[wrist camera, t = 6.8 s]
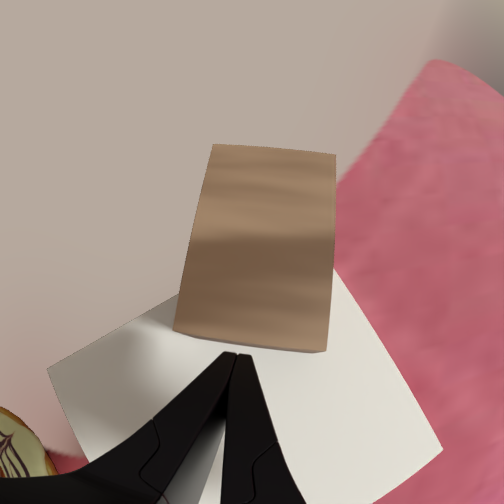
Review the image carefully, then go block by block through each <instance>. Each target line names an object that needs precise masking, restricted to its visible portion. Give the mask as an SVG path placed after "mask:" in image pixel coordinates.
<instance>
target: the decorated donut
mask: <svg viewBox="0 0 504 504" xmlns="http://www.w3.org/2000/svg"><path fill="white" fill-rule="evenodd" d="M48 475H58V472H57V471H56V469H55V466H54V464H53V462H52V461H51V460H50V458H49V457H48V455H47V453H46V452H45V450H44V448H43V445H42V444H41V442H40V440H39V438H38V437H37V436H36V435H35V433H34V432H33V431H32V430H31V429H30V428H28V426H27V425H26V424H25V423H24V422H23V421H22V420H21V419H20V418H19V417H17V416H16V415H14V414H13V413H12V412H10V411H9V410H7V409H5V408H3V407H0V477H9V478H11V477H35V476H48Z"/></svg>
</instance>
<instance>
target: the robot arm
mask: <svg viewBox="0 0 504 504" xmlns="http://www.w3.org/2000/svg"><path fill="white" fill-rule="evenodd" d="M152 419H153V420H152ZM152 419H150V420H149V421H148V422H147V423H146V424H144V425H143V426H142V427H141V428H140V429H139V430H137V431H136V432H135V433H134V434H132V435H131V436H130V437H128V438H127V439H126V440H124V441H123V442H121V443H120V444H118V445H117V446H116V447H114V448H112V449H111V450H109V451H108V452H106V453H105V454H103V455H101V456H100V457H98V458H97V459H95V460H93V461H92V462H90V463H89V464H87V465H85V466H84V467H82V468H80V469H78V470H75V471H72V472H69V473H65V474H59V475H48V476H35V477H11V478H9V477H0V504H198V503H199V501H200V498H201V495H202V493H203V490H204V487H205V484H206V482H207V479H208V476H209V473H210V471H211V468H212V465H213V462H214V459H215V456H216V454H217V451H218V448H219V445H220V442H221V439H222V437H223V434H224V431H225V438H224V452H223V466H222V481H221V496H220V504H307V503H306V501H305V499H304V498H303V496H302V494H301V492H300V490H299V488H298V487H297V485H296V483H295V481H294V479H293V477H292V475H291V472H290V470H289V468H288V466H287V463H286V461H285V458H284V455H283V453H282V450H281V446H280V443H279V442H278V438H277V435H276V432H275V428H274V425H273V422H272V419H271V416H270V413H269V410H268V406H267V403H266V400H265V397H264V394H263V390H262V387H261V384H260V381H259V377H258V374H257V371H256V368H255V364H254V361H253V358H252V356H251V355H250V354H242V353H239V354H238V355H237V353H235V352H228V351H224V352H222V353H221V354H220V355H219V356H218V357H217V358H216V359H215V360H214V361H213V362H212V363H211V364H210V365H209V366H208V367H207V368H205V369H204V370H203V371H202V372H201V373H200V374H199V375H198V376H197V377H196V378H195V379H194V380H193V381H192V382H191V383H190V384H189V385H187V386H186V387H185V388H184V389H183V390H182V391H181V392H180V393H179V394H178V395H177V396H176V397H174V398H173V399H172V400H171V401H170V402H169V403H168V404H167V405H166V406H165V407H164V408H162V409H161V410H160V411H159V412H158V413H157V414H156V415H155V416H154V417H153V418H152Z"/></svg>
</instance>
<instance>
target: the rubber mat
mask: <svg viewBox="0 0 504 504" xmlns="http://www.w3.org/2000/svg"><path fill="white" fill-rule="evenodd" d="M178 296H179V294H177V295H175V296H174V297H172V298H170V299H169V300H167V301H165V302H163V303H161V304H160V305H158V306H156V307H155V308H153V309H151V310H149V311H147V312H146V313H144V314H142V315H140V316H139V317H137V318H135V319H133V320H131V321H130V322H128V323H126V324H124V325H123V326H121V327H119V328H118V329H116V330H114V331H112V332H111V333H109V334H107V335H105V336H103V337H102V338H100V339H98V340H96V341H95V342H93V343H91V344H90V345H88V346H86V347H84V348H83V349H81V350H79V351H77V352H76V353H74V354H72V355H70V356H68V357H67V358H65V359H63V360H61V361H60V362H58V363H56V364H54V365H53V366H51V367H49V368H47V371H48V374H49V376H50V379H51V382H52V384H53V387H54V389H55V392H56V394H57V396H58V399H59V401H60V404H61V406H62V409H63V411H64V413H65V415H66V417H67V420H68V422H69V424H70V426H71V428H72V430H73V432H74V434H75V436H76V438H77V440H78V442H79V444H80V446H81V448H82V450H83V451H84V453H85V455H86V457H87V459H88V461H89V462H92V461H93V460H95V459H97V458H98V457H100V456H101V455H103V454H105V453H106V452H108V451H109V450H111V449H112V448H114V447H116V446H117V445H118V444H120V443H121V442H123V441H124V440H126V439H127V438H128V437H130V436H131V435H132V434H134V433H135V432H136V431H137V430H139V429H140V428H141V427H142V426H143V425H144V424H146V423H147V422H148V421H149V420H150V419H152V418H153V417H154V416H155V415H156V414H157V413H158V412H159V411H160V410H161V409H162V408H164V407H165V406H166V405H167V404H168V403H169V402H170V401H171V400H172V399H173V398H174V397H176V396H177V395H178V394H179V393H180V392H181V391H182V390H183V389H184V388H185V387H186V386H187V385H189V384H190V383H191V382H192V381H193V380H194V379H195V378H196V377H197V376H198V375H199V374H200V373H201V372H202V371H203V370H204V369H205V368H207V367H208V366H209V365H210V364H211V363H212V362H213V361H214V360H215V359H216V358H217V357H218V356H219V355H220V354H221V353H222V352H224V351H228V352H235V353H237V355H238V354H239V353H242V354H250V355H251V356H252V358H253V361H254V364H255V368H256V371H257V374H258V377H259V381H260V384H261V387H262V390H263V394H264V397H265V400H266V403H267V406H268V410H269V413H270V416H271V419H272V422H273V425H274V428H275V432H276V435H277V438H278V442H279V443H280V446H281V450H282V453H283V455H284V458H285V461H286V463H287V466H288V468H289V470H290V472H291V475H292V477H293V479H294V481H295V483H296V485H297V487H298V488H299V490H300V492H301V494H302V496H303V498H304V499H305V501H306V503H307V504H372V503H373V502H375V501H376V500H378V499H379V498H381V497H382V496H384V495H385V494H387V493H388V492H390V491H391V490H393V489H394V488H396V487H397V486H398V485H400V484H401V483H402V482H404V481H405V480H407V479H408V478H409V477H411V476H412V475H413V474H414V473H416V472H417V471H418V470H420V469H421V468H422V467H423V466H425V465H426V464H427V463H428V462H429V461H431V460H432V459H433V458H434V457H435V456H437V455H438V454H439V453H440V452H441V451H442V450H443V448H442V446H441V445H440V443H439V441H438V439H437V437H436V435H435V433H434V431H433V430H432V428H431V426H430V424H429V422H428V420H427V419H426V417H425V415H424V413H423V412H422V410H421V408H420V406H419V404H418V403H417V401H416V399H415V397H414V396H413V394H412V392H411V390H410V389H409V387H408V385H407V384H406V382H405V380H404V379H403V377H402V375H401V373H400V372H399V370H398V368H397V367H396V365H395V363H394V362H393V360H392V358H391V357H390V355H389V354H388V352H387V350H386V349H385V347H384V345H383V344H382V342H381V341H380V339H379V337H378V336H377V334H376V333H375V331H374V329H373V328H372V326H371V325H370V323H369V322H368V320H367V318H366V317H365V315H364V314H363V312H362V311H361V309H360V308H359V306H358V304H357V303H356V301H355V300H354V298H353V297H352V295H351V294H350V292H349V291H348V289H347V288H346V286H345V285H344V283H343V282H342V280H341V279H340V277H339V276H338V274H337V273H336V271H335V270H334V268H333V282H332V296H331V309H330V320H329V331H328V341H327V350H326V351H325V352H319V353H313V354H311V353H300V352H290V351H281V350H272V349H264V348H256V347H248V346H241V345H234V344H227V343H220V342H214V341H208V340H202V339H196V338H193V337H190V336H187V335H183V334H181V333H178V332H175V331H172V329H173V324H174V318H175V312H176V307H177V301H178ZM152 420H153V419H152ZM224 438H225V431H224V434H223V437H222V439H221V442H220V445H219V448H218V451H217V454H216V456H215V459H214V462H213V465H212V468H211V471H210V473H209V476H208V479H207V482H206V484H205V487H204V490H203V493H202V495H201V498H200V501H199V503H198V504H220V496H221V481H222V466H223V452H224Z"/></svg>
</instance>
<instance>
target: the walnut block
mask: <svg viewBox="0 0 504 504" xmlns="http://www.w3.org/2000/svg"><path fill="white" fill-rule="evenodd" d="M335 216H336V155H334V154H327V153H319V152H311V151H302V150H292V149H281V148H270V147H258V146H244V145H225V144H213V147H212V151H211V155H210V158H209V162H208V166H207V170H206V174H205V178H204V182H203V186H202V190H201V194H200V198H199V202H198V207H197V211H196V215H195V219H194V224H193V228H192V233H191V238H190V242H189V247H188V251H187V256H186V261H185V266H184V271H183V276H182V281H181V286H180V291H179V296H178V301H177V307H176V312H175V318H174V324H173V329H172V331H175V332H178V333H181V334H183V335H187V336H190V337H193V338H196V339H202V340H208V341H214V342H220V343H227V344H234V345H241V346H248V347H256V348H264V349H272V350H281V351H290V352H300V353H311V354H313V353H319V352H325V351H326V350H327V341H328V331H329V320H330V309H331V296H332V282H333V265H334V245H335Z"/></svg>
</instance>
